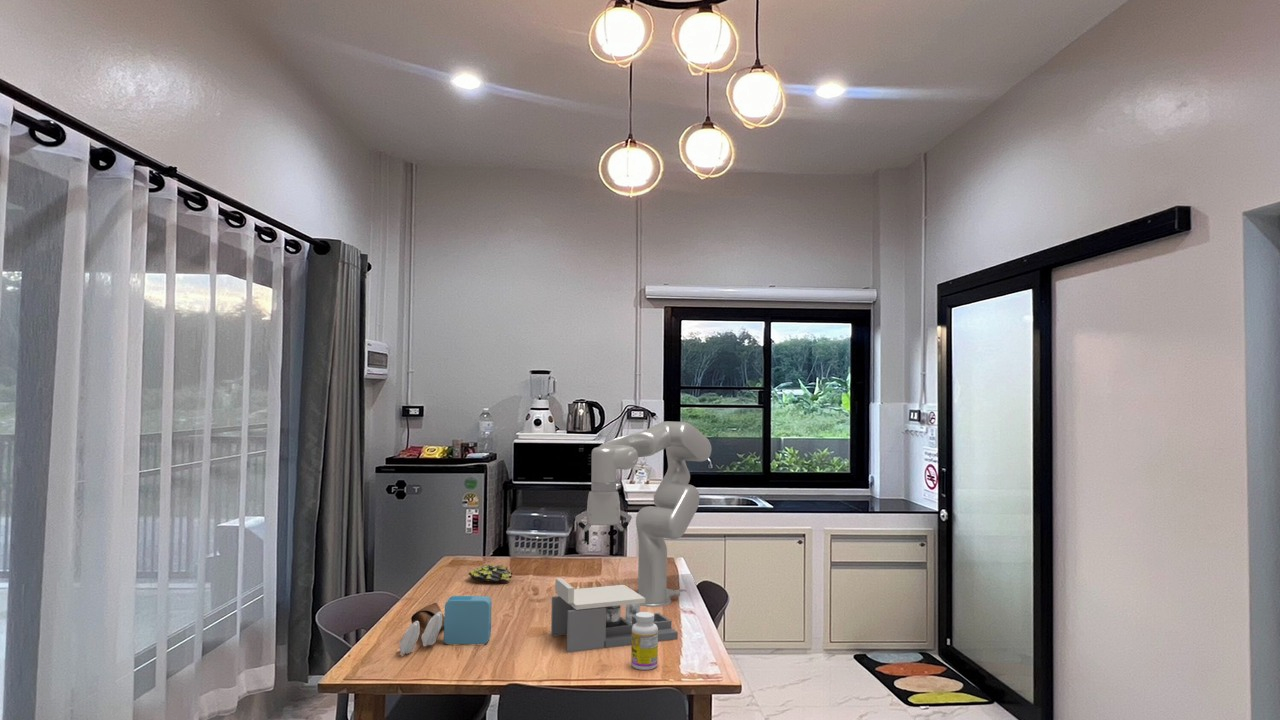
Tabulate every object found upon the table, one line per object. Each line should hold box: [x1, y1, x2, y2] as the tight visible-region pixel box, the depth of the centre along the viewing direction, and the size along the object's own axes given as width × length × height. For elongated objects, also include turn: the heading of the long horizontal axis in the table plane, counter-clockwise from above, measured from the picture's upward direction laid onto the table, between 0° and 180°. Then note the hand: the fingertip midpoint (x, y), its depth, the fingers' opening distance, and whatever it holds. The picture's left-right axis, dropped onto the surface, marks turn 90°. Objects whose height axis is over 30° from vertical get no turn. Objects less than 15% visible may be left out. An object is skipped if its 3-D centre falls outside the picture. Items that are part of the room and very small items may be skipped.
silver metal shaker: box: [624, 603, 641, 620], centre depth 226 cm, size 4×4×8 cm
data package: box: [443, 595, 493, 646], centre depth 203 cm, size 12×4×12 cm, turn 93°
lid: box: [554, 577, 645, 610], centre depth 208 cm, size 22×16×5 cm
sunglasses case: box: [410, 602, 445, 633], centre depth 210 cm, size 18×7×7 cm, turn 2°
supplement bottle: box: [630, 611, 659, 671], centre depth 187 cm, size 7×7×13 cm
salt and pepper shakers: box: [398, 611, 443, 656], centre depth 195 cm, size 12×4×11 cm
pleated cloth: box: [467, 564, 513, 583], centre depth 277 cm, size 20×16×7 cm
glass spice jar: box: [606, 605, 622, 628], centre depth 209 cm, size 4×4×8 cm
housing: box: [550, 595, 679, 654], centre depth 210 cm, size 32×16×11 cm, turn 113°
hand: (603, 543), depth 228 cm, fingers open, 9 cm apart
